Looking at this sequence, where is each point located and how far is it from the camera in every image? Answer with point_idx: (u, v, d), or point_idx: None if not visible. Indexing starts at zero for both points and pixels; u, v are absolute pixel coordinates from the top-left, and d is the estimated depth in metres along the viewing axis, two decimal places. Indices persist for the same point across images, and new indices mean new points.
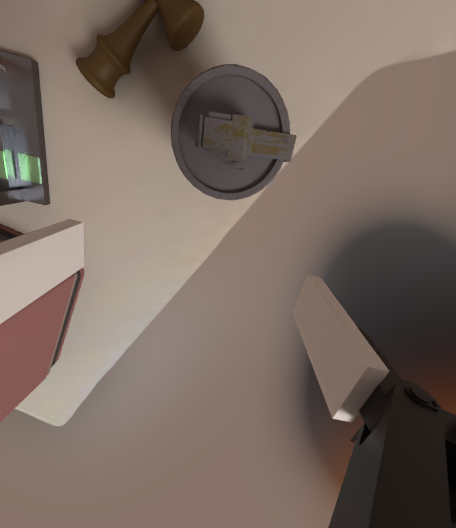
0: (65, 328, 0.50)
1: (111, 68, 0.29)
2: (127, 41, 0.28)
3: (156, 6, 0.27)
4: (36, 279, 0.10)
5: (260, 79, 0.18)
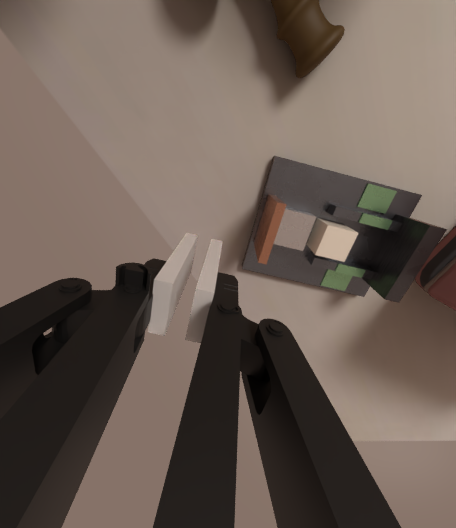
0: None
1: (319, 8, 0.21)
2: None
3: None
4: (183, 283, 0.12)
5: None
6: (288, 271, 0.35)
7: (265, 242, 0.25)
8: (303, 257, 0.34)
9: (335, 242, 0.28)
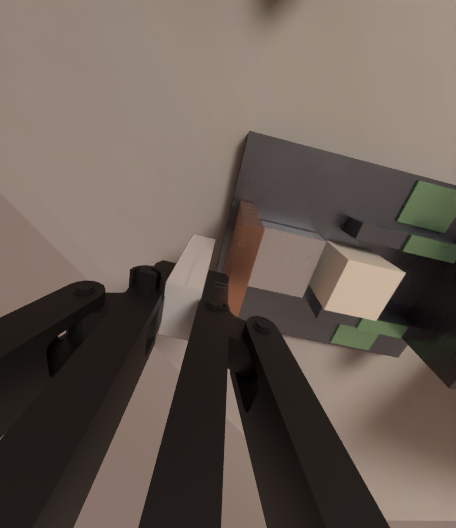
0: None
1: None
2: None
3: None
4: None
5: None
6: (279, 322, 0.22)
7: None
8: (304, 301, 0.21)
9: (360, 290, 0.16)
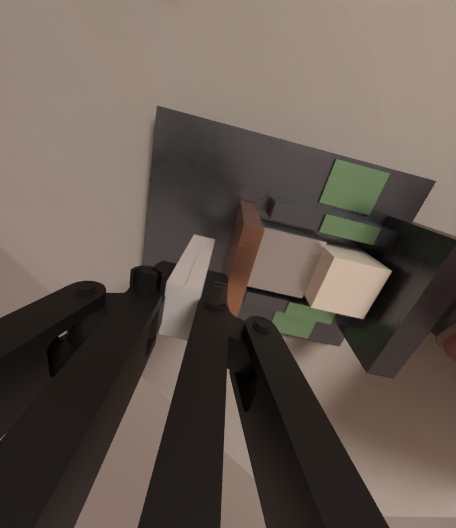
0: None
1: None
2: None
3: None
4: None
5: None
6: None
7: None
8: None
9: (347, 288, 0.15)
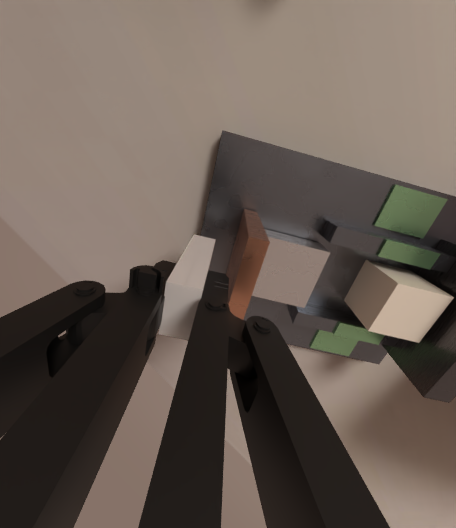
0: None
1: None
2: None
3: None
4: None
5: None
6: None
7: None
8: (282, 305, 0.20)
9: (407, 312, 0.16)
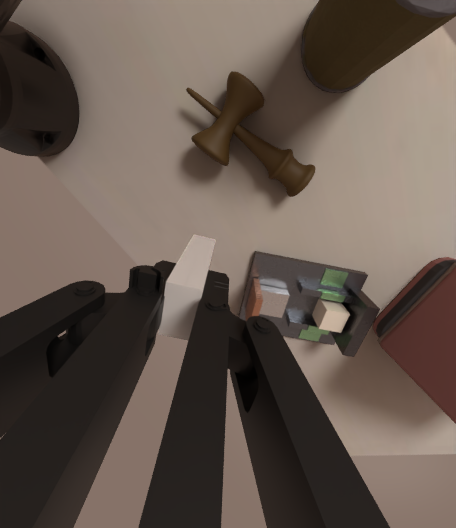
0: None
1: (294, 161, 0.31)
2: (270, 148, 0.30)
3: None
4: None
5: None
6: None
7: None
8: (283, 318, 0.44)
9: (333, 320, 0.39)
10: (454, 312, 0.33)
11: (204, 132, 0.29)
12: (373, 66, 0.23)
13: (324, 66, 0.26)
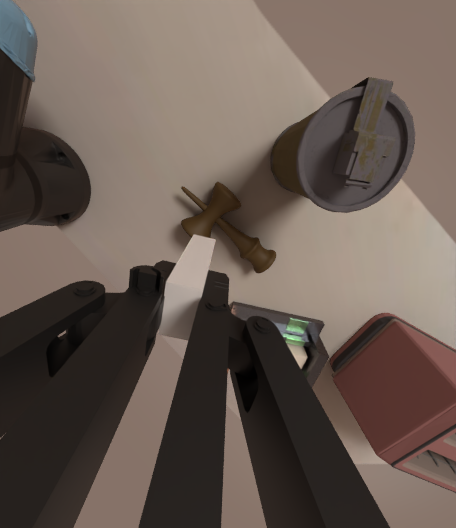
0: (444, 344, 0.49)
1: (260, 250, 0.39)
2: (243, 238, 0.39)
3: (220, 217, 0.38)
4: None
5: (312, 124, 0.20)
6: None
7: None
8: None
9: None
10: (385, 363, 0.43)
11: (191, 221, 0.37)
12: None
13: (285, 184, 0.34)
